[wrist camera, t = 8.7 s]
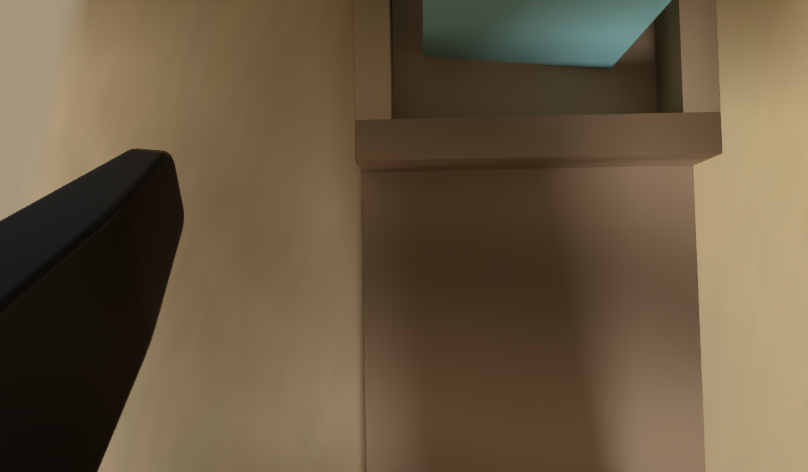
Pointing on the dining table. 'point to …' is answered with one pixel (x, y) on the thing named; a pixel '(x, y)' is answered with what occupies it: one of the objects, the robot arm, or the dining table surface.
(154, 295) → the robot arm
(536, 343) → the brown wooden stand
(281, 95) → the dining table surface
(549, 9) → the finger block
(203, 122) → the dining table surface
